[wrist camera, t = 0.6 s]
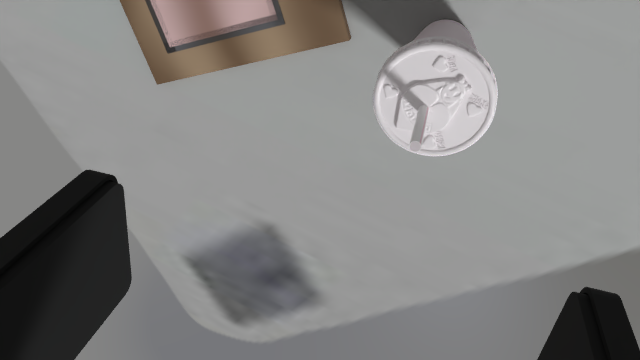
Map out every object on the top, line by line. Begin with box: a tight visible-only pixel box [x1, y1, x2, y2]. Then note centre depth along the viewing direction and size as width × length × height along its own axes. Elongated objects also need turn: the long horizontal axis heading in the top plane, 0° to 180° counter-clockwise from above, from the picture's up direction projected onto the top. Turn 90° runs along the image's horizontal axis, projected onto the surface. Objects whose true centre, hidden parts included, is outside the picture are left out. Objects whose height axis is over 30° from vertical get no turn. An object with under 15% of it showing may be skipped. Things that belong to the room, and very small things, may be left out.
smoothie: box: [373, 19, 498, 156], centre depth 30 cm, size 6×6×14 cm
